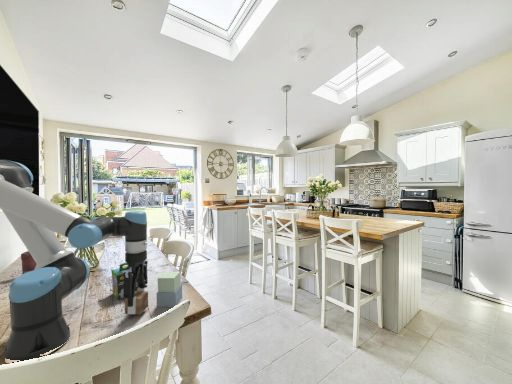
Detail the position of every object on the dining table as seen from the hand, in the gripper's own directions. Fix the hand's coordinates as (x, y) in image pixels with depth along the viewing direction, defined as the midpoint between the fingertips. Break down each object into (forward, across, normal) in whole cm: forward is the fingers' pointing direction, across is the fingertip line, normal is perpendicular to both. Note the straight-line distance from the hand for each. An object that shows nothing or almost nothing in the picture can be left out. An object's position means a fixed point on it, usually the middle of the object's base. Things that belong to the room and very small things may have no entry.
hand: (136, 308), depth 90 cm
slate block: (+2, +9, -10) cm, 14 cm away
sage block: (-4, +9, -10) cm, 14 cm away
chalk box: (+3, +17, +14) cm, 22 cm away
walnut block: (0, 0, 0) cm, 1 cm away
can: (+4, +38, +81) cm, 90 cm away
